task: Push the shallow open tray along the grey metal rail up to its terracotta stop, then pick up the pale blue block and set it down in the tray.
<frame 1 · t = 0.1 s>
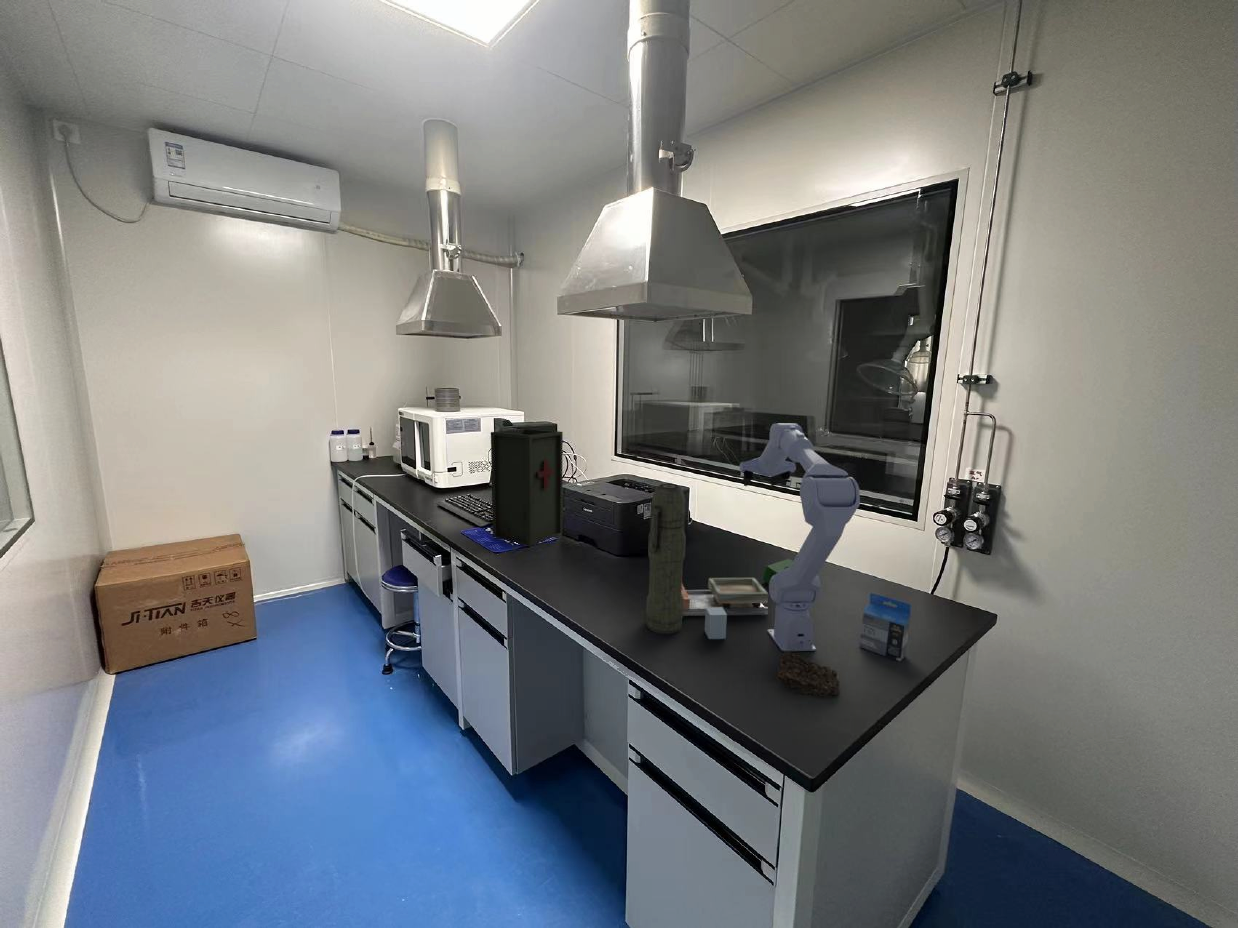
hand: (758, 483, 142), 32 cm above the counter, tool tilted 50°, fingers open, 7 cm apart
brown porous oval lump: (806, 687, 102), on the counter
thermos: (664, 625, 126), on the counter
shallow open tray: (736, 593, 137), point 3 cm above the counter, slide at 0.0 cm
clamp: (782, 583, 154), on the counter
label tape box: (882, 652, 115), on the counter
block: (714, 634, 121), on the counter
first aid box: (528, 537, 194), on the counter
rail: (719, 605, 138), on the counter
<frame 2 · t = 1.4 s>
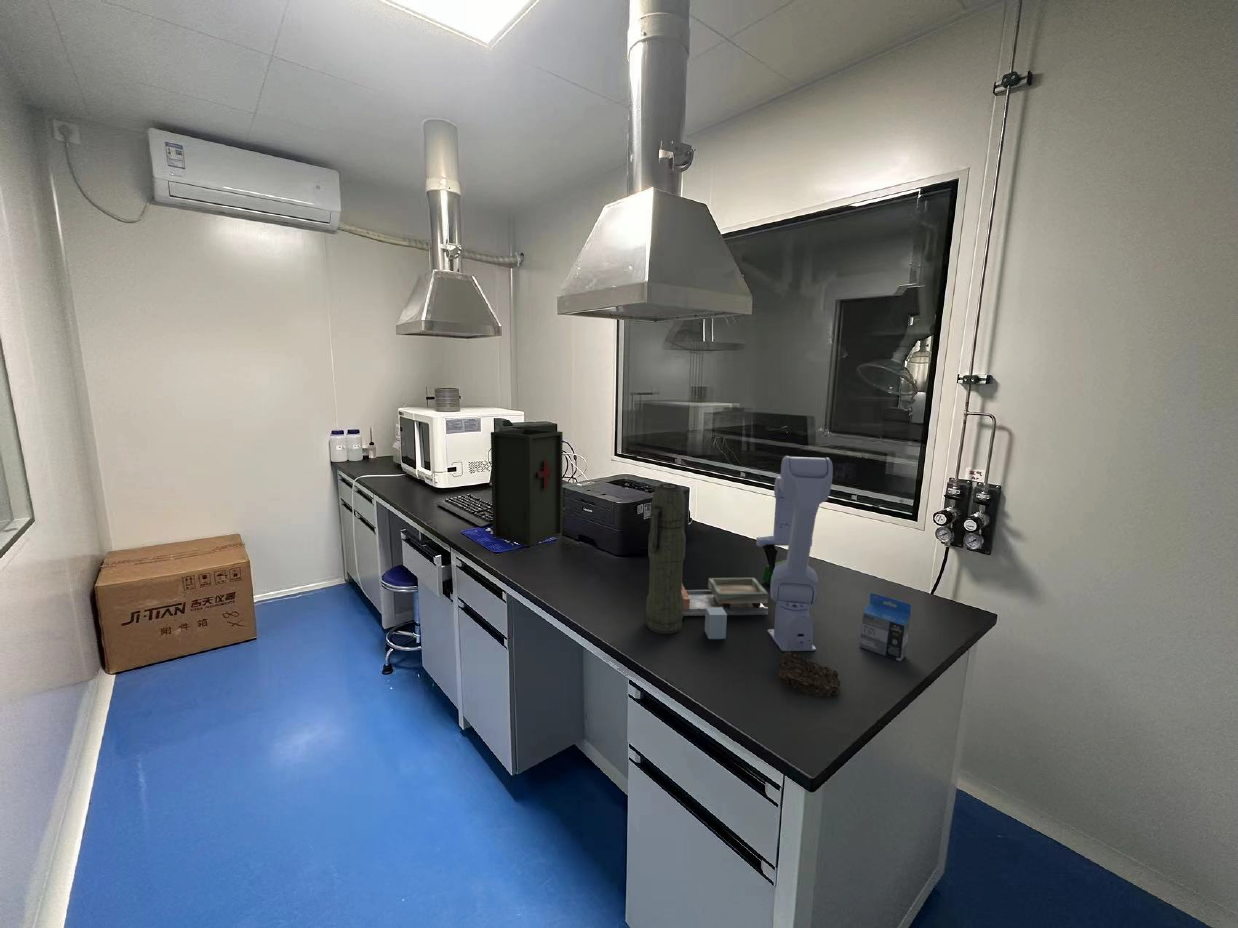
hand: (781, 571, 137), 9 cm above the counter, tool pointing down, fingers open, 5 cm apart
nothing on the counter moved.
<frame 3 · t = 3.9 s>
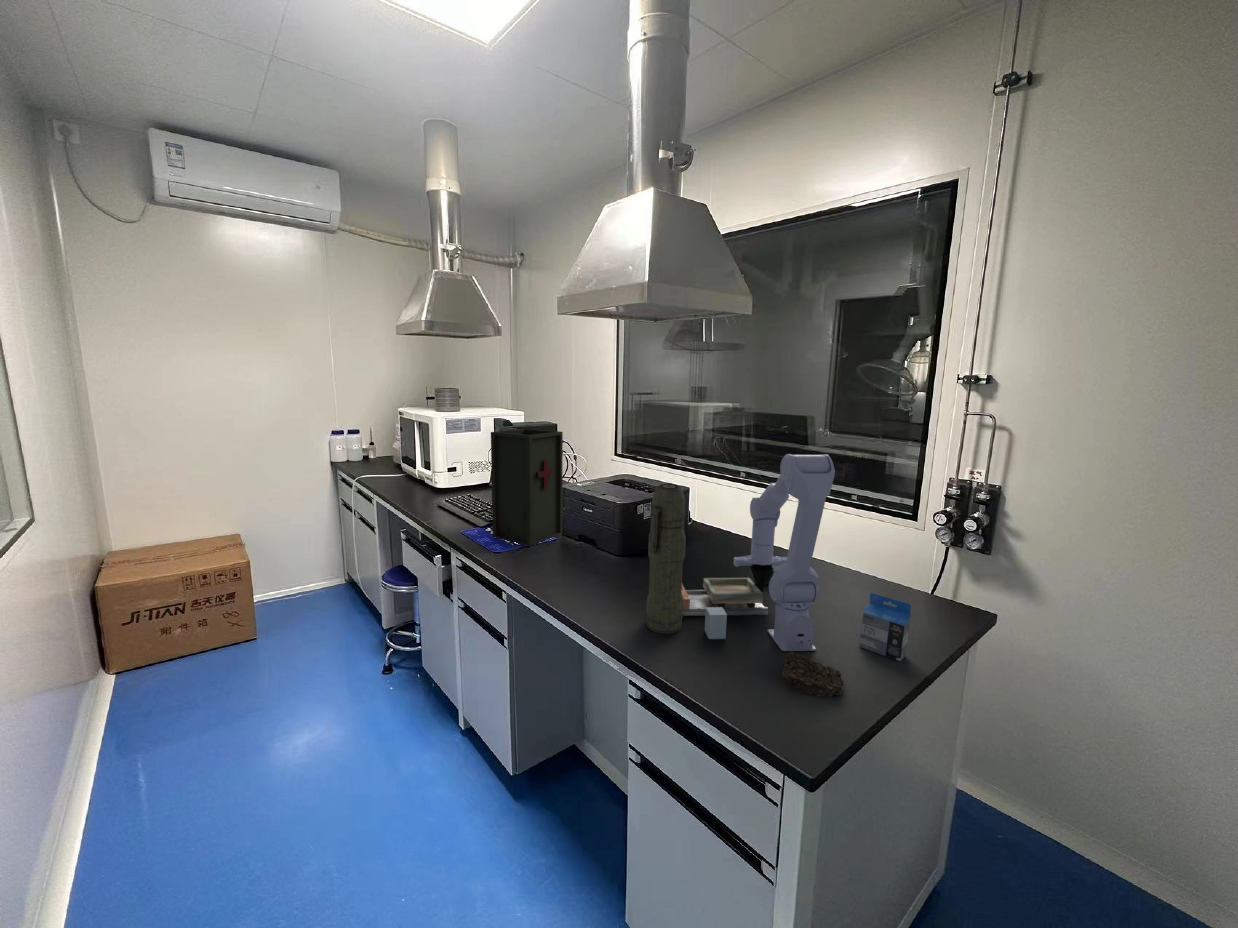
hand: (759, 590, 138), 4 cm above the counter, tool pointing down, fingers closed
shallow open tray: (731, 593, 137), point 3 cm above the counter, slide at 1.4 cm, touching gripper
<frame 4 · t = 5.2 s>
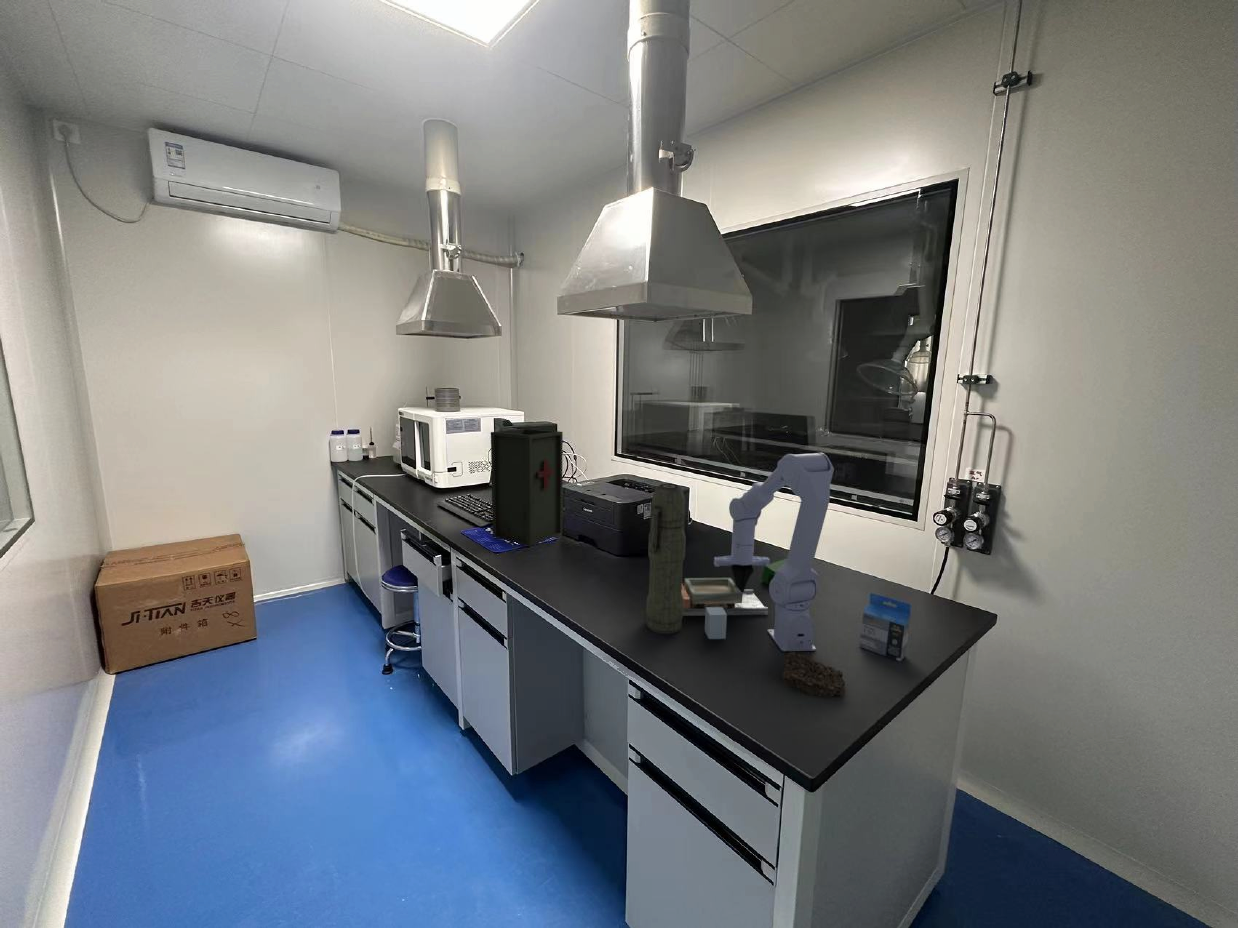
hand: (740, 591, 137), 4 cm above the counter, tool pointing down, fingers closed
shallow open tray: (712, 593, 137), point 3 cm above the counter, slide at 6.8 cm, touching gripper
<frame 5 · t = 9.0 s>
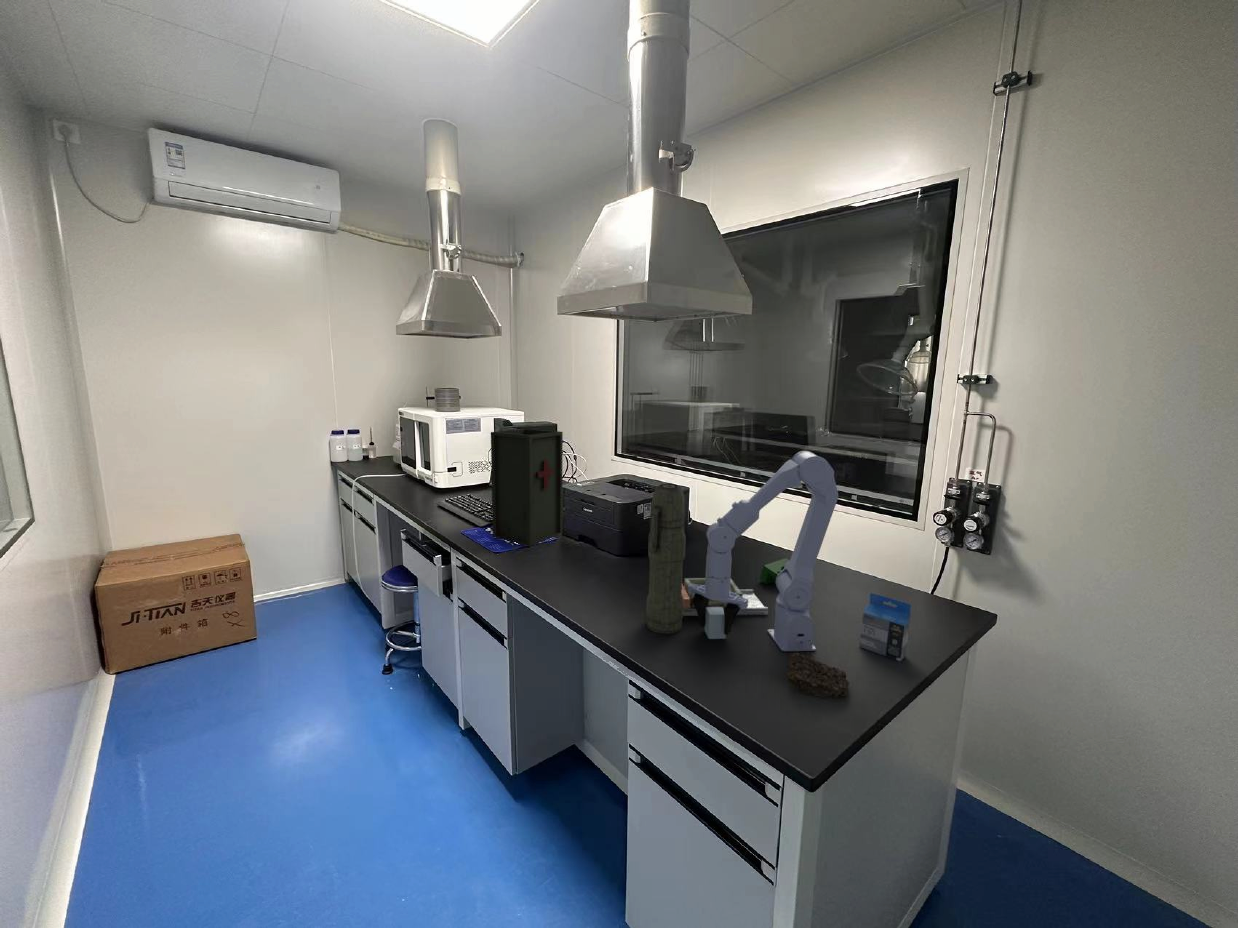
hand: (715, 628, 121), 1 cm above the counter, tool pointing down, fingers closed on block, 6 cm apart
shallow open tray: (711, 593, 137), point 3 cm above the counter, slide at 6.8 cm
block: (714, 634, 121), on the counter, touching gripper
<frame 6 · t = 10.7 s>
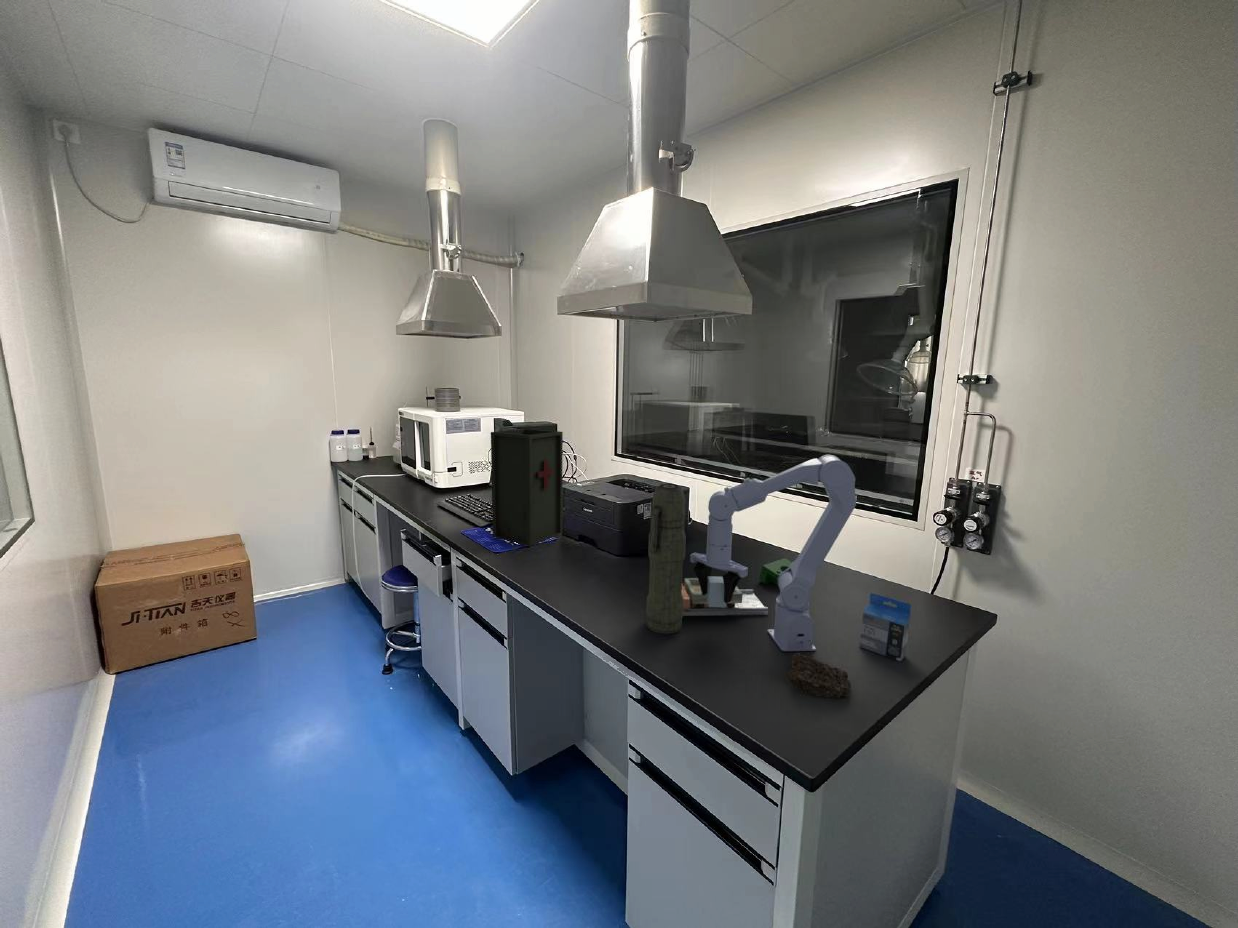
hand: (716, 597, 122), 8 cm above the counter, tool pointing down, fingers closed on block, 6 cm apart
block: (715, 603, 122), point 7 cm above the counter, touching gripper
when the fingers open (7 cm above the counter, at t = 12.5 s): block drops 1 cm, resting on shallow open tray.
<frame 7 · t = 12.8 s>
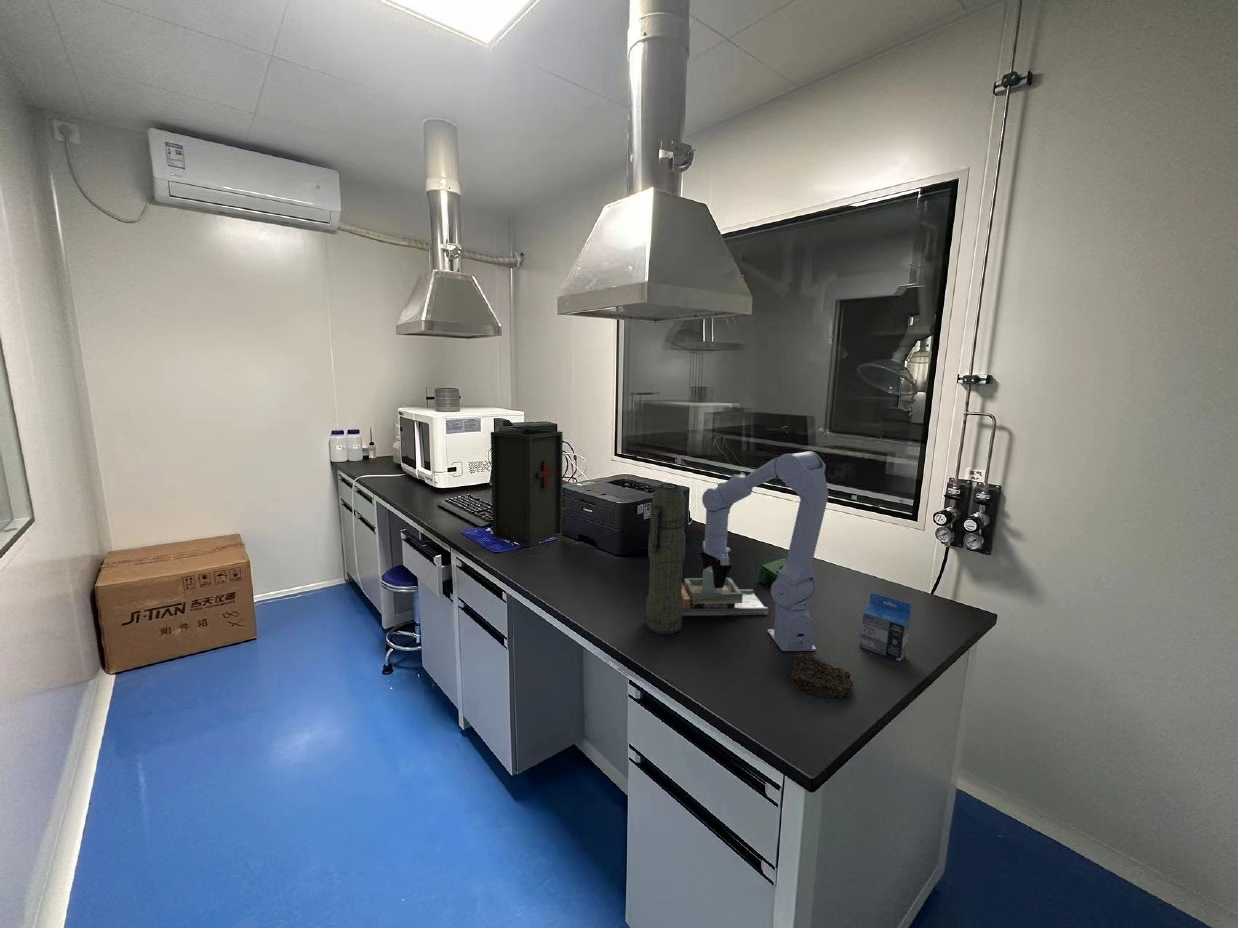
hand: (713, 581, 136), 7 cm above the counter, tool pointing down, fingers open, 7 cm apart
shallow open tray: (711, 593, 137), point 3 cm above the counter, slide at 6.8 cm, touching block
block: (712, 591, 137), point 4 cm above the counter, touching shallow open tray
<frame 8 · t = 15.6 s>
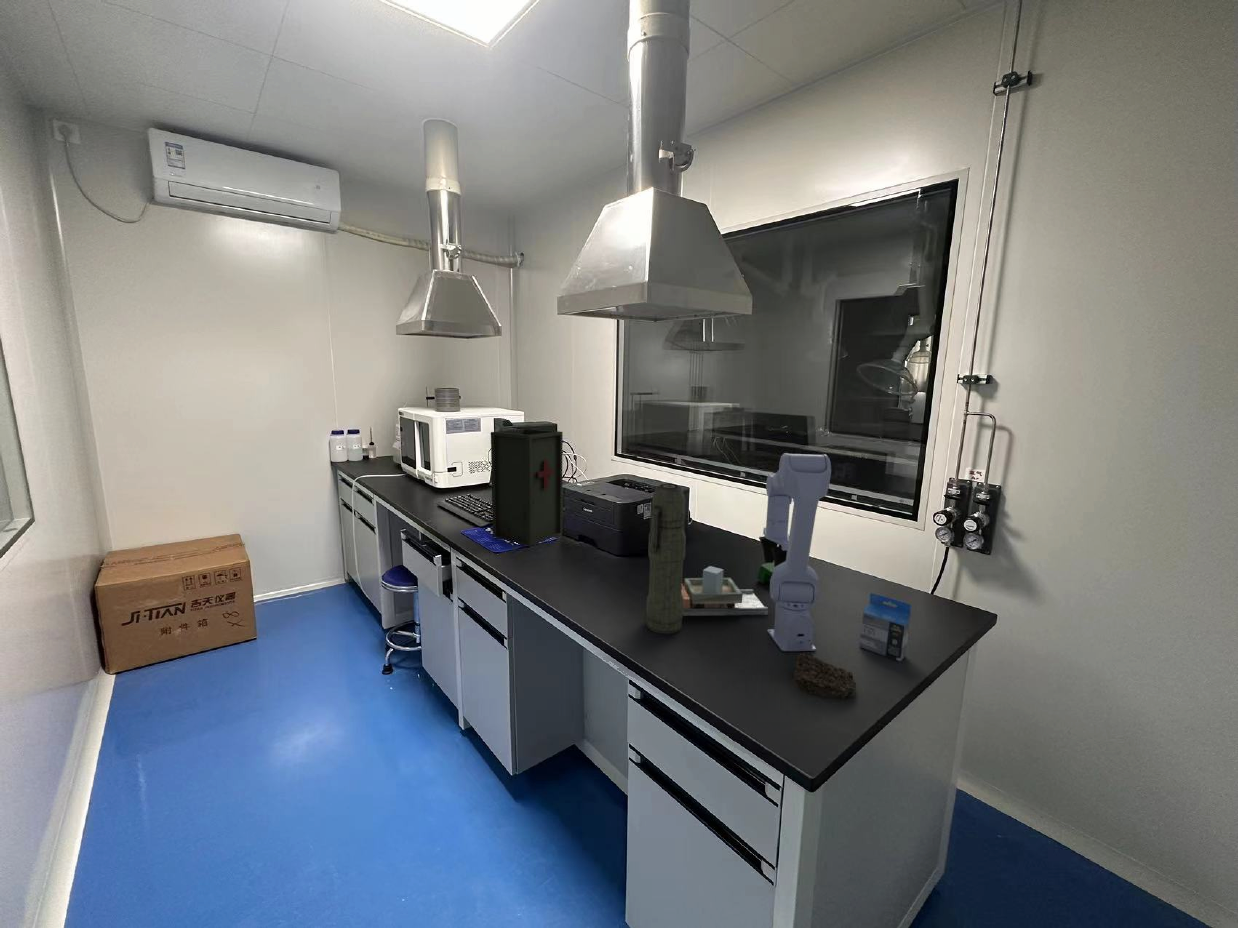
hand: (774, 567, 140), 9 cm above the counter, tool pointing down, fingers open, 7 cm apart
at the end: shallow open tray slide at 6.8 cm; block inside the target area (0.1 cm from its centre), point 4.0 cm above the counter; block tilted 0° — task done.
